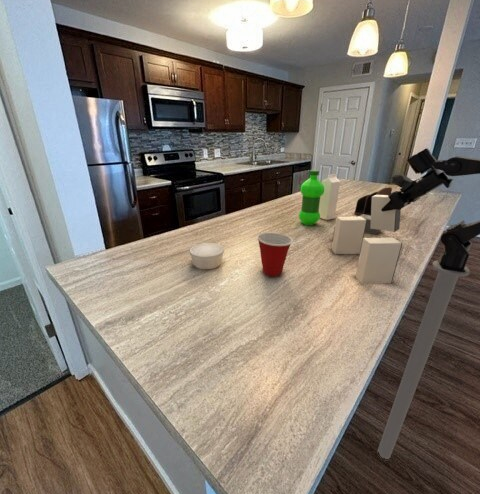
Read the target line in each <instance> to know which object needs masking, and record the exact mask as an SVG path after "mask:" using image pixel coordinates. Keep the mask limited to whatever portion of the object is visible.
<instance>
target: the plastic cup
mask: <svg viewBox="0 0 480 494" xmlns="http://www.w3.org/2000/svg"><path fill="white" fill-rule="evenodd" d="M256 238H257V240H258V245H259V252H260V260H261V266H262V271H263V274H264V275H266V276H268V277H279V276H281V274H282V272H283V270H284V265H285V262H286V259H287V255H288V252H289V249H290V247H291V245H292V244H293V243H294V240H293V238H292V237H291V236H289V235H286V234H284V233H279V232H269V231H268V232H262V233H259V234H257V235H256Z"/></svg>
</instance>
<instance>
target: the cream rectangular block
mask: <svg viewBox="0 0 480 494" xmlns="http://www.w3.org/2000/svg"><path fill="white" fill-rule="evenodd" d="M389 201H390V199H389V197H388V195H375V196H372V204H371V226H370V229H377V230H381V231H386V232H393V233H395V232H397V231H399V230H400V225H401V224H400V223H401V213H402V212H401V211H402V209H400V210H398V209H396V210H390V211H384V212H382V210H381V209H382V208H383V207H384V206H385V205H386V204H387V203H388V202H389Z"/></svg>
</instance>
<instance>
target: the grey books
mask: <svg viewBox="0 0 480 494" xmlns="http://www.w3.org/2000/svg"><path fill="white" fill-rule="evenodd" d="M357 217H363V218H365V219H366V220H367V222H366V227H365V232H364V233H368V234H371V235H377V234H379V233H381V231H382V230H377V229H370V226H371V216H369V215H365V214H362V215H357ZM334 231H335V226H334V228H333V235H332V238H333V237H334ZM332 242H333V239H332Z"/></svg>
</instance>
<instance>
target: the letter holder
mask: <svg viewBox="0 0 480 494" xmlns="http://www.w3.org/2000/svg"><path fill="white" fill-rule="evenodd" d="M392 191H393V188H392V187H383V188H381V189H380V190H377V191H374V192H373V193H370V194H366V195H363V196H362V197H359V198H358V199H357V200H356V206H355V209H354V215H357V216H360V215H362V214H365V215H369V216H371V204H372V196H375V195H389V194H391V193H393V192H392Z"/></svg>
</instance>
